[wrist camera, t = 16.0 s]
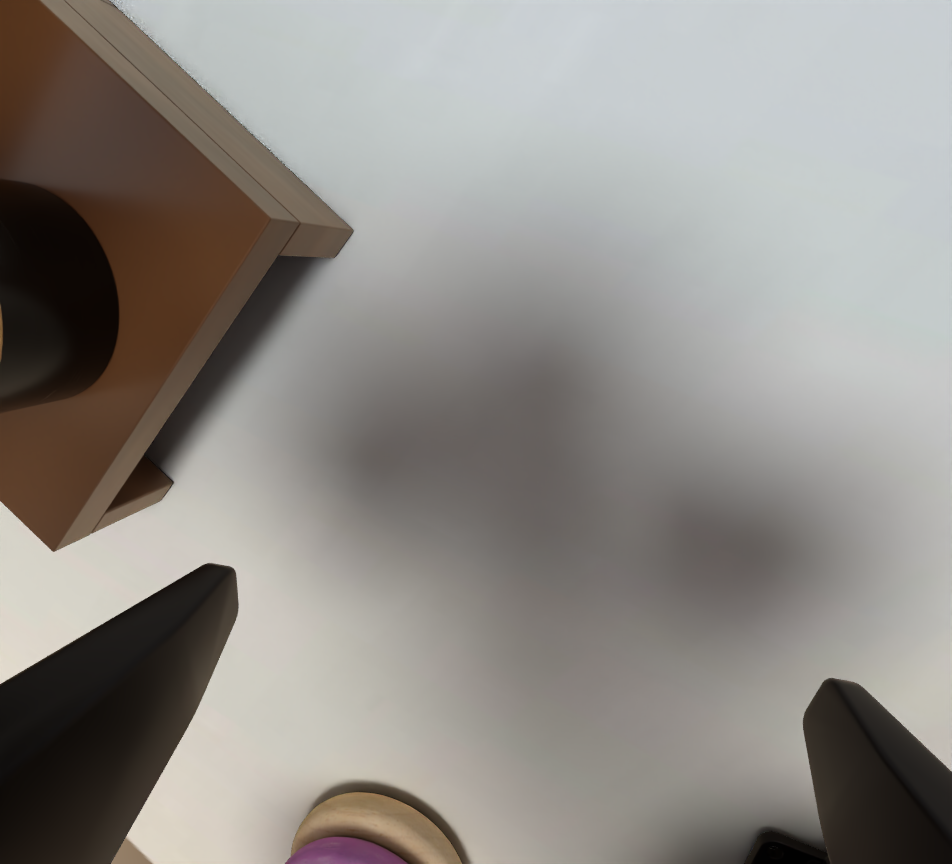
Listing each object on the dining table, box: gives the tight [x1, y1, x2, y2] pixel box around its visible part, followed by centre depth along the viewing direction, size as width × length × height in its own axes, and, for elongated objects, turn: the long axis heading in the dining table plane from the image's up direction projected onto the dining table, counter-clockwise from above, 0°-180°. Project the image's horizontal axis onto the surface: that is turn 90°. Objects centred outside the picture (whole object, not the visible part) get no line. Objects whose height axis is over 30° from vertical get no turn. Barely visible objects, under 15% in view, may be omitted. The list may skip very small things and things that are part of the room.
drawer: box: [0, 0, 353, 552], centre depth 19 cm, size 12×14×9 cm
